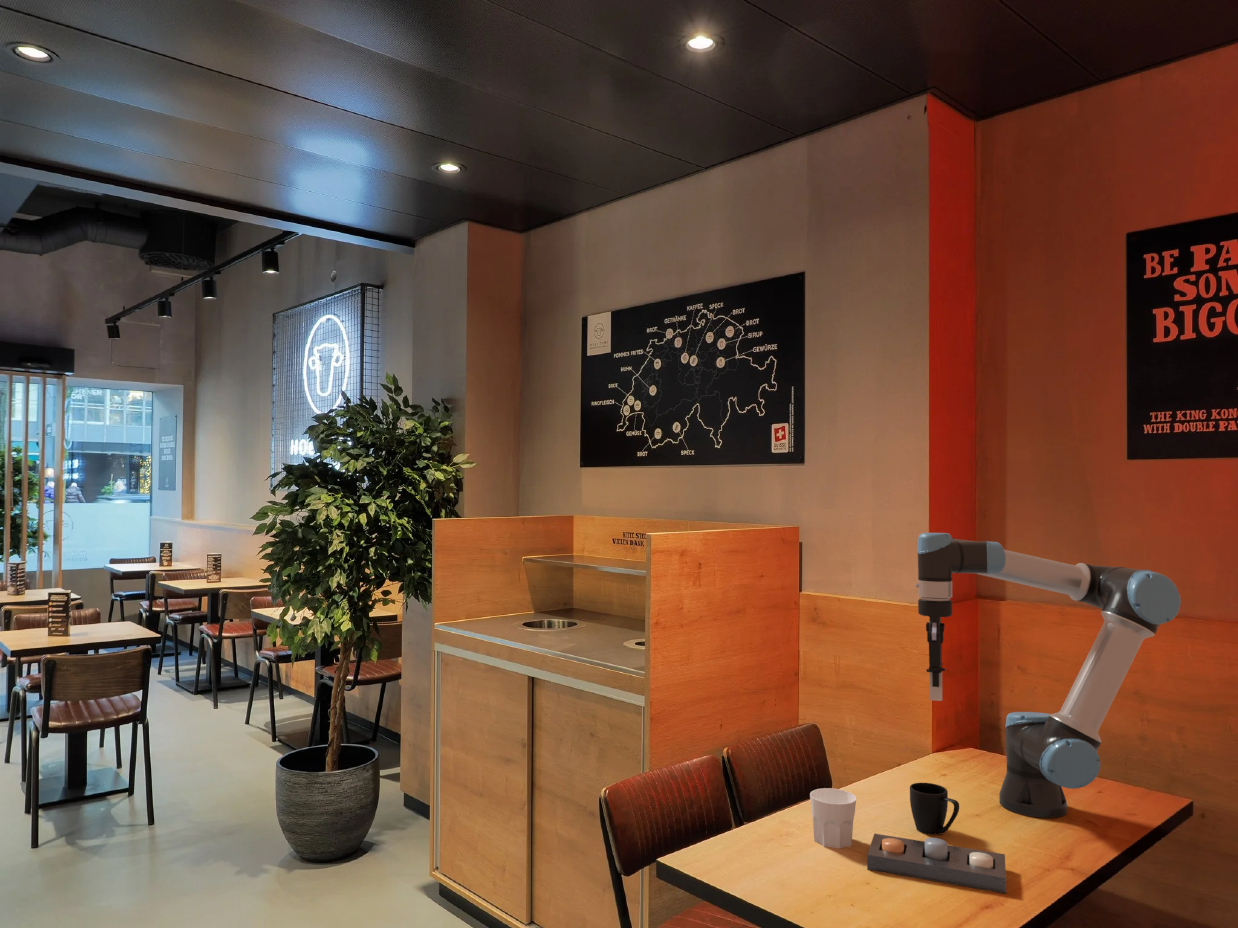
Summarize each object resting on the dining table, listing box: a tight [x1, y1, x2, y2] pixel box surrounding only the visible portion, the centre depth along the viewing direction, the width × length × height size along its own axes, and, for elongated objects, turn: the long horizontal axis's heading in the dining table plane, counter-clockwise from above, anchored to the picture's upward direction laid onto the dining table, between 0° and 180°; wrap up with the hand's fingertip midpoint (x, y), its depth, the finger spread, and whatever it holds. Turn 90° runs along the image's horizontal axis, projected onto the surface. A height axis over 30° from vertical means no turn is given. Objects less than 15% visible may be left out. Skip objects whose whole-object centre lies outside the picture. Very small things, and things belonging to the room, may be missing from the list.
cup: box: [809, 787, 857, 850], centre depth 187 cm, size 10×10×10 cm
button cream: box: [969, 852, 993, 869], centre depth 170 cm, size 4×4×4 cm
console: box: [866, 833, 1007, 895], centre depth 173 cm, size 26×12×3 cm, turn 66°
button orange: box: [882, 838, 904, 854], centre depth 177 cm, size 4×4×4 cm
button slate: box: [924, 837, 948, 861], centre depth 173 cm, size 4×4×4 cm
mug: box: [909, 782, 960, 836], centre depth 192 cm, size 8×12×10 cm
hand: (936, 699), depth 196 cm, fingers closed
